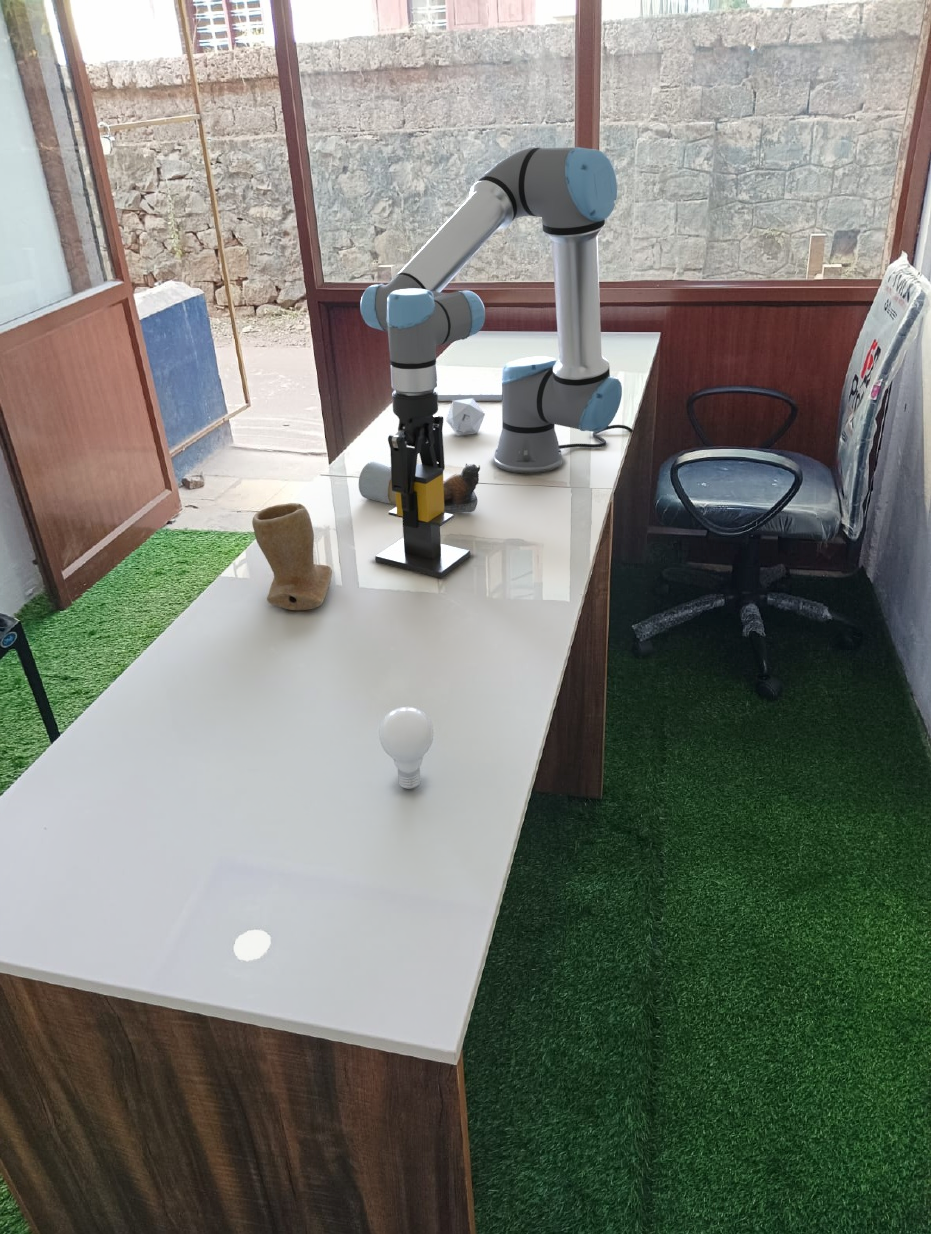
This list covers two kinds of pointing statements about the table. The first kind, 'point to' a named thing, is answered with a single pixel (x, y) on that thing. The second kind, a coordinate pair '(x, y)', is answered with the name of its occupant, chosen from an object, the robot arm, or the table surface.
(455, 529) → the table surface
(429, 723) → the lightbulb
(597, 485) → the table surface
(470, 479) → the brown animal-shaped figure
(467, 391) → the computer keyboard
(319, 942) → the table surface
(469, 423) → the die
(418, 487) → the block
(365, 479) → the ceramic mug
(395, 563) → the stand
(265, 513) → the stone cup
